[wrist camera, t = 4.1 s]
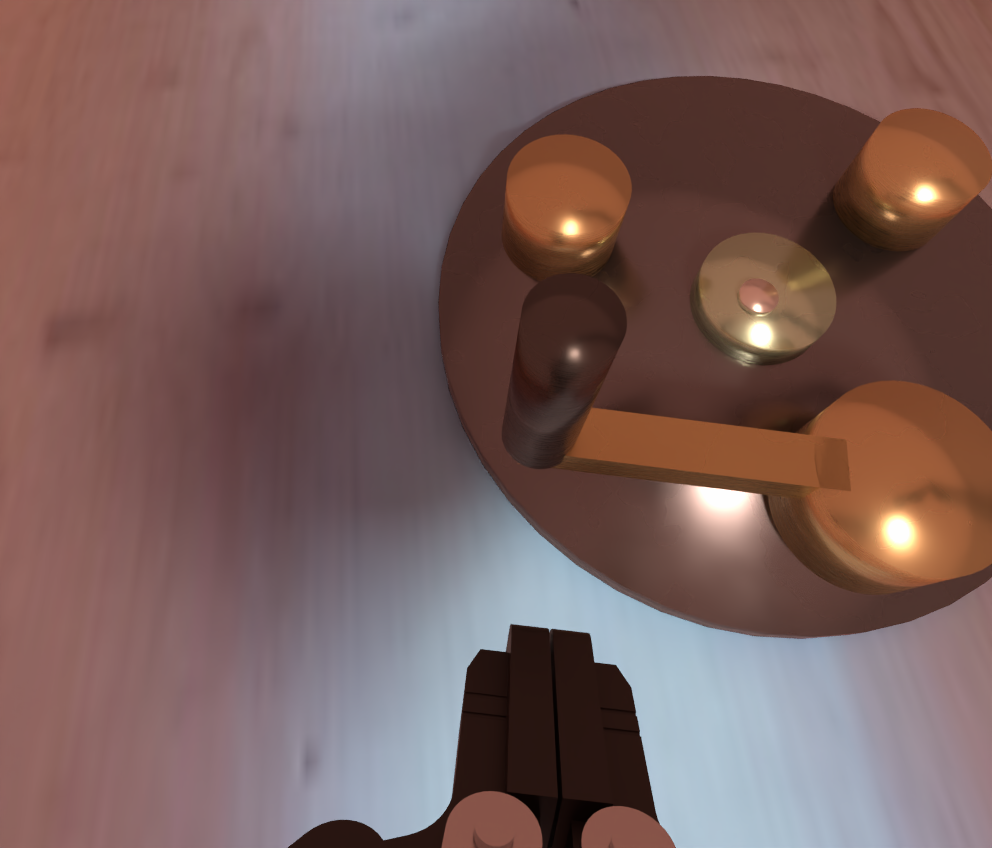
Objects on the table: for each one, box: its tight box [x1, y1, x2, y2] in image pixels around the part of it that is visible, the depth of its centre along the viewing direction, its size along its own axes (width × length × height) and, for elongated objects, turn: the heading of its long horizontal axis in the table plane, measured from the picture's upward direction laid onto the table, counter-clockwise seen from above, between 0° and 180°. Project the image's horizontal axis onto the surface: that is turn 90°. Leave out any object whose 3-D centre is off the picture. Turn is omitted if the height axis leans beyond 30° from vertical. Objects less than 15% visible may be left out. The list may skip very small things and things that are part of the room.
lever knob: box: [502, 273, 992, 595], centre depth 18 cm, size 15×6×9 cm, turn 84°
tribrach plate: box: [438, 76, 992, 639], centre depth 25 cm, size 24×24×4 cm
